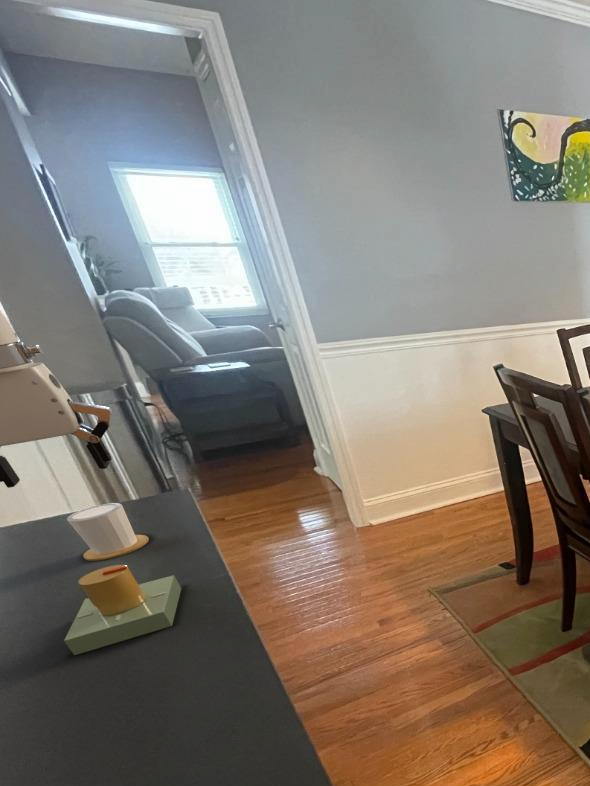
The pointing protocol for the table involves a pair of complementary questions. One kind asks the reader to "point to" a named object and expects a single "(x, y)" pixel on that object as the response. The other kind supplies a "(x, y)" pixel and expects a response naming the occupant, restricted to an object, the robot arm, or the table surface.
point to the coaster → (140, 542)
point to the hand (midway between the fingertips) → (61, 475)
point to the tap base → (125, 618)
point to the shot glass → (104, 528)
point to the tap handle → (112, 589)
